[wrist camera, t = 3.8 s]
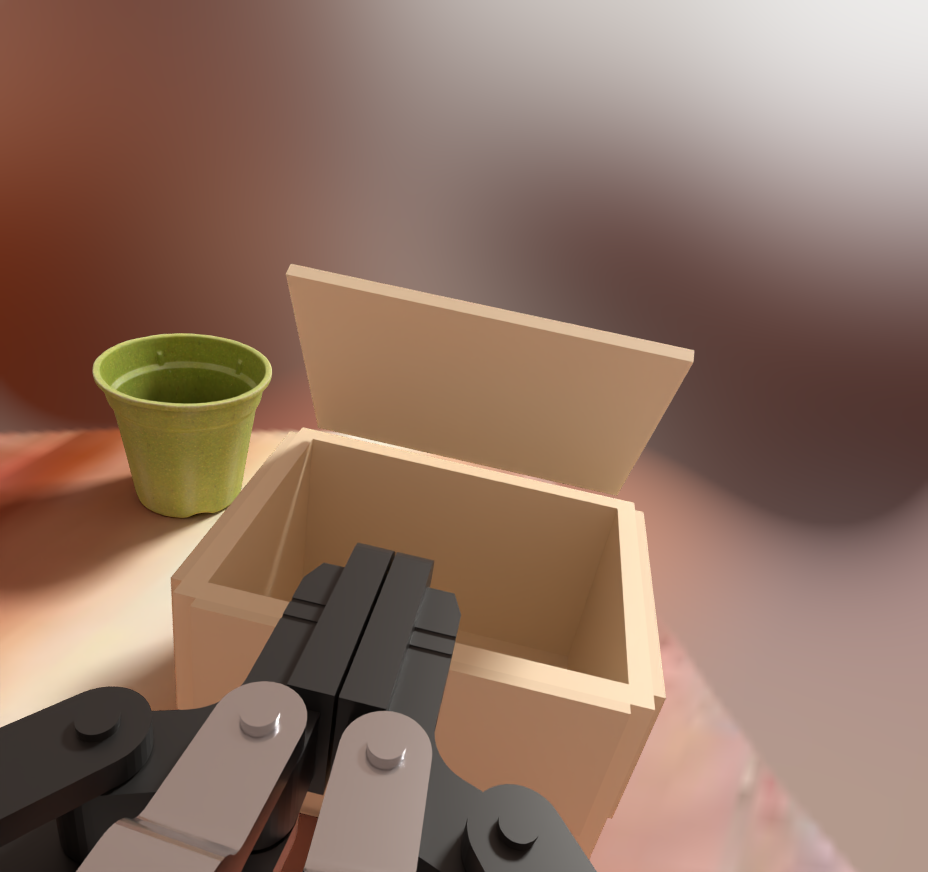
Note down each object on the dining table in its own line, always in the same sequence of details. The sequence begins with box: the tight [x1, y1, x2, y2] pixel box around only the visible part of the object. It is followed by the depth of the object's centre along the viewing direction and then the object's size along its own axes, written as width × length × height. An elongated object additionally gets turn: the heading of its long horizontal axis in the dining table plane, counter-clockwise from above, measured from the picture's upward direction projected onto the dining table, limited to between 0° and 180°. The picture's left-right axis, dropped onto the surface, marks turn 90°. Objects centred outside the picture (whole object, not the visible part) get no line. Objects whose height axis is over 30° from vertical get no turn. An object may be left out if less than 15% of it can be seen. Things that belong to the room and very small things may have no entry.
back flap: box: [286, 264, 694, 496], centre depth 28 cm, size 14×1×10 cm
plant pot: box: [93, 334, 272, 518], centre depth 42 cm, size 9×9×9 cm
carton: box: [171, 428, 666, 859], centre depth 30 cm, size 17×12×10 cm
